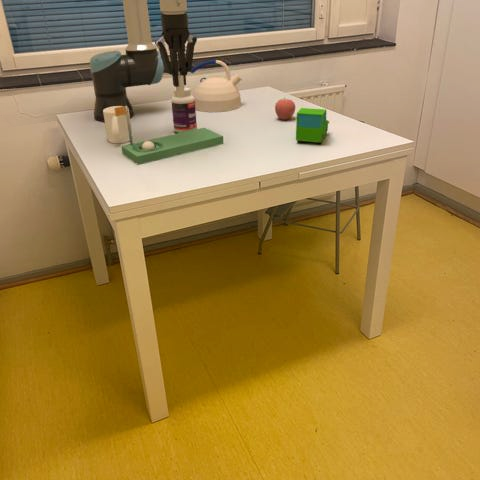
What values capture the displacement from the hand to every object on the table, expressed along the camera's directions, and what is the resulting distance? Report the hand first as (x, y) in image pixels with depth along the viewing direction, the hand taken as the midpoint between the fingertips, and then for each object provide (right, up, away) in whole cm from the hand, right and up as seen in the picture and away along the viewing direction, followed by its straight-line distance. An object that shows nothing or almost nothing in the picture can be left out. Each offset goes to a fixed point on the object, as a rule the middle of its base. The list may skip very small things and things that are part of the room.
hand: (180, 96), depth 147 cm
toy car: (+42, -11, +11) cm, 45 cm away
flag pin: (-17, -15, +1) cm, 23 cm away
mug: (-22, -11, +13) cm, 28 cm away
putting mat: (-3, -15, +5) cm, 16 cm away
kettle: (+9, +11, +50) cm, 52 cm away
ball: (-9, -17, +2) cm, 19 cm away
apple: (+35, +1, +31) cm, 46 cm away
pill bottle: (-1, -6, +21) cm, 22 cm away
